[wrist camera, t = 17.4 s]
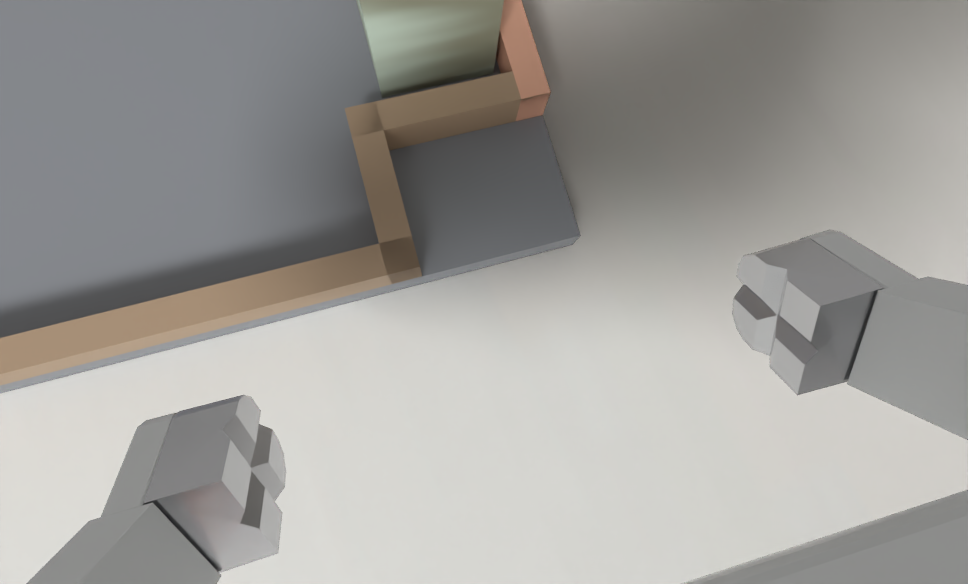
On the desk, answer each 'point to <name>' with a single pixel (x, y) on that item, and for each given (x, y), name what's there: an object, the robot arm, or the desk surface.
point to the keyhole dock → (243, 173)
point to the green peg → (430, 41)
